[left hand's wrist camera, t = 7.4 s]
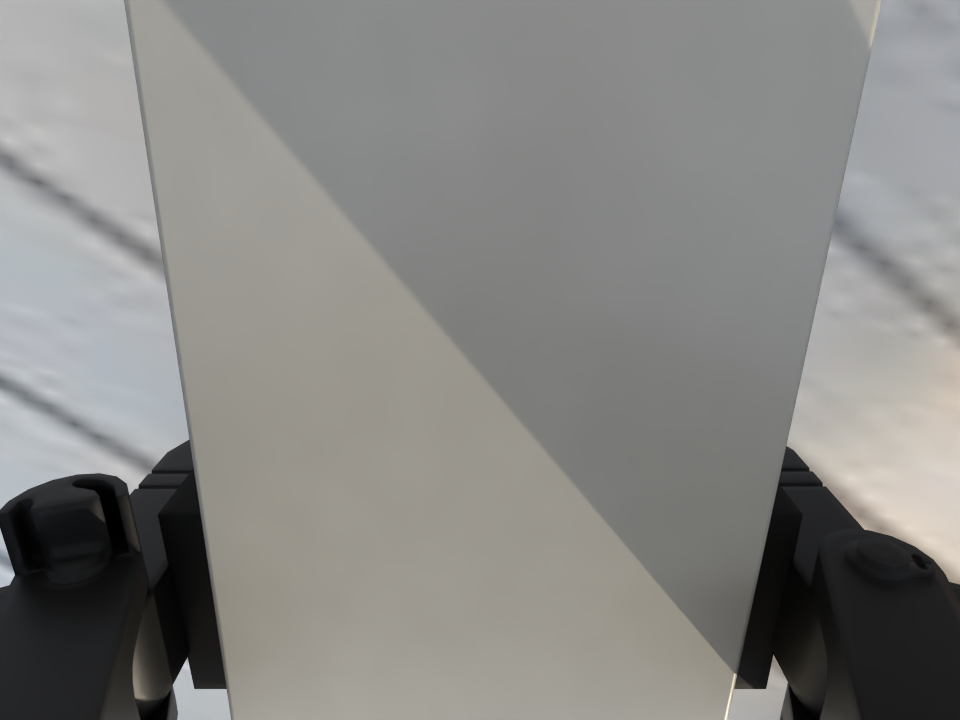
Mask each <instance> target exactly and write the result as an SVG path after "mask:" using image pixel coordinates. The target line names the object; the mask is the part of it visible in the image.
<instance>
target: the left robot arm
mask: <svg viewBox="0 0 960 720" xmlns="http://www.w3.org/2000/svg"><path fill="white" fill-rule="evenodd" d="M0 529H1V532H2V535H3V538H4V541H5V544H6V548H7V551H8V554H9V557H10V560H11V563H12V566H13V570H14V573H15V576H14V578H13V580H12V582H11V584H10V585H9V586H5V587H2V588H0V720H177V716H178V711H177V704H176V698H175V694H174V689H173V683H174V682H175V680H176V678H177V676H178V674H179V672H180V670H181V668H182V666H183V664H184V662H185V661H186V659H187V657H188V660H189V665H190V670H191V675H192V679H193V684H194V689H227V687H226V680H225V674H224V667H223V660H222V654H221V647H220V640H219V633H218V627H217V620H216V613H215V607H214V600H213V593H212V586H211V580H210V573H209V566H208V560H207V553H206V546H205V539H204V533H203V526H202V519H201V513H200V506H199V499H198V493H197V486H196V479H195V472H194V466H193V459H192V452H191V446H190V440H188V441H186V442H184V443H183V444H181V445H179V446H178V447H176V448H174V449H173V450H171V451H169V452H168V453H167V454H166V455H165V456H164V457H163V458H162V459H161V460H160V462H159V463H158V464H157V465H156V466H155V467H154V468H153V469H152V474H148V475H147V476H146V477H145V478H144V480H143V481H142V482H141V483H140V484H139V488H138V489H135V490H134V491H133V492H132V493H131V494H130V495H129V492H128V487H127V484H126V483H125V482H124V481H122V480H121V479H119V478H118V477H117V476H111V475H105V474H100V473H98V474H80V475H73V476H69V477H64V478H60V479H55V480H52V481H49V482H46V483H44V484H41V485H39V486H36V487H33V488H31V489H28V490H27V491H25V492H23V493H22V494H20V495H18V496H17V497H15V498H13V499H11V500H10V501H8V502H7V503H6V504H5V505H4V506H3V507H2V509H1V510H0ZM773 654H774V656H775V658H776V660H777V662H778V664H779V666H780V668H781V669H782V671H783V673H784V675H785V677H786V679H787V681H788V685H787V689H786V694H785V698H784V703H783V707H782V711H781V716H780V720H960V585H959V584H955V583H951V582H949V581H948V579H947V577H946V575H945V573H944V572H943V571H942V570H941V568H940V567H939V566H938V565H937V564H936V562H935V561H934V560H933V559H932V558H930V557H929V556H927V555H926V554H925V553H923V552H922V551H920V550H919V549H917V548H916V547H915V546H912V545H910V544H908V543H906V542H903V541H901V540H899V539H897V538H894V537H892V536H888V535H884V534H881V533H877V532H873V531H869V530H864V529H863V528H862V527H861V525H860V524H859V523H858V522H857V521H856V520H855V519H854V518H853V516H852V515H851V514H850V513H849V512H848V511H847V510H846V509H845V508H844V506H843V505H842V504H841V503H840V502H839V501H838V500H837V499H836V497H835V496H834V495H833V494H832V493H831V492H830V491H829V490H828V488H827V487H823V485H822V482H821V481H820V479H819V478H818V477H817V476H816V475H815V474H814V473H813V472H810V471H809V467H808V466H807V465H806V464H805V463H804V462H803V460H802V459H801V458H800V457H799V456H798V455H797V454H796V453H795V451H794V450H792V449H790V448H789V447H787V446H786V449H785V454H784V458H783V463H782V468H781V472H780V477H779V482H778V486H777V491H776V496H775V500H774V505H773V510H772V514H771V519H770V524H769V528H768V533H767V538H766V542H765V547H764V552H763V556H762V561H761V566H760V570H759V575H758V580H757V584H756V589H755V594H754V598H753V603H752V608H751V612H750V617H749V622H748V626H747V631H746V636H745V640H744V645H743V650H742V654H741V659H740V664H739V668H738V673H737V678H736V682H735V687H734V689H766V686H767V682H768V677H769V672H770V668H771V663H772V658H773Z"/></svg>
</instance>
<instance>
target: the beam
mask: <svg viewBox="0 0 960 720" xmlns="http://www.w3.org/2000/svg"><path fill="white" fill-rule="evenodd" d="M881 1H882V0H124V3H125V9H126V16H127V23H128V30H129V36H130V43H131V50H132V56H133V63H134V70H135V77H136V83H137V90H138V97H139V103H140V110H141V117H142V123H143V130H144V137H145V144H146V150H147V157H148V164H149V170H150V177H151V184H152V191H153V197H154V204H155V211H156V217H157V224H158V231H159V238H160V244H161V251H162V258H163V264H164V271H165V278H166V285H167V291H168V298H169V305H170V311H171V318H172V325H173V331H174V338H175V345H176V352H177V358H178V365H179V372H180V378H181V385H182V392H183V399H184V405H185V412H186V419H187V425H188V432H189V439H190V446H191V452H192V459H193V466H194V472H195V479H196V486H197V493H198V499H199V506H200V513H201V519H202V526H203V533H204V539H205V546H206V553H207V560H208V566H209V573H210V580H211V586H212V593H213V600H214V607H215V613H216V620H217V627H218V633H219V640H220V647H221V654H222V660H223V667H224V674H225V680H226V687H227V694H228V701H229V707H230V714H231V720H728V715H729V710H730V706H731V701H732V696H733V692H734V687H735V682H736V678H737V673H738V668H739V664H740V659H741V654H742V650H743V645H744V640H745V636H746V631H747V626H748V622H749V617H750V612H751V608H752V603H753V598H754V594H755V589H756V584H757V580H758V575H759V570H760V566H761V561H762V556H763V552H764V547H765V542H766V538H767V533H768V528H769V524H770V519H771V514H772V510H773V505H774V500H775V496H776V491H777V486H778V482H779V477H780V472H781V468H782V463H783V458H784V454H785V449H786V444H787V440H788V435H789V430H790V426H791V421H792V416H793V412H794V407H795V402H796V398H797V393H798V388H799V384H800V379H801V374H802V370H803V365H804V360H805V356H806V351H807V346H808V342H809V337H810V332H811V328H812V323H813V318H814V314H815V309H816V304H817V300H818V295H819V290H820V286H821V281H822V276H823V272H824V267H825V262H826V258H827V253H828V248H829V244H830V239H831V234H832V230H833V225H834V220H835V216H836V211H837V206H838V202H839V197H840V192H841V188H842V183H843V178H844V174H845V169H846V164H847V160H848V155H849V150H850V146H851V141H852V136H853V132H854V127H855V122H856V118H857V113H858V108H859V104H860V99H861V94H862V90H863V85H864V80H865V76H866V71H867V66H868V62H869V57H870V52H871V48H872V43H873V38H874V34H875V29H876V24H877V20H878V15H879V10H880V6H881Z"/></svg>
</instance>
